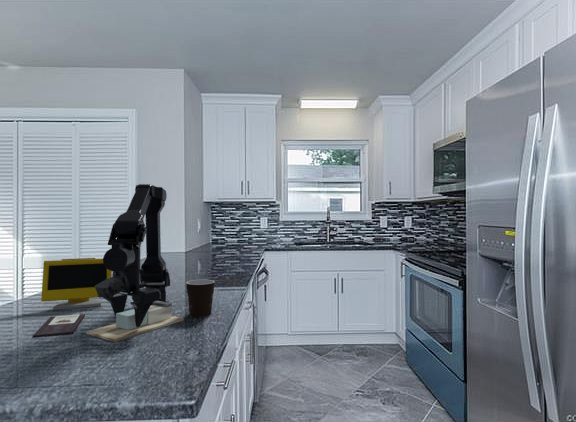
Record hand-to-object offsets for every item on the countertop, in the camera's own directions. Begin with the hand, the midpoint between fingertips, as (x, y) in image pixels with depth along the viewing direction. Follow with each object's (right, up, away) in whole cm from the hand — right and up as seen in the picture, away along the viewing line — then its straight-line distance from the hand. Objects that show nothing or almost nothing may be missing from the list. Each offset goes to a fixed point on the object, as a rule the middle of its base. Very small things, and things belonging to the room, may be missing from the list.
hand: (128, 324), depth 101 cm
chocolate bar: (-20, -2, +3) cm, 20 cm away
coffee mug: (+16, -2, +16) cm, 23 cm away
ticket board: (+2, -1, +2) cm, 3 cm away
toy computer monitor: (-27, -2, +25) cm, 37 cm away
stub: (+1, -1, +1) cm, 2 cm away
